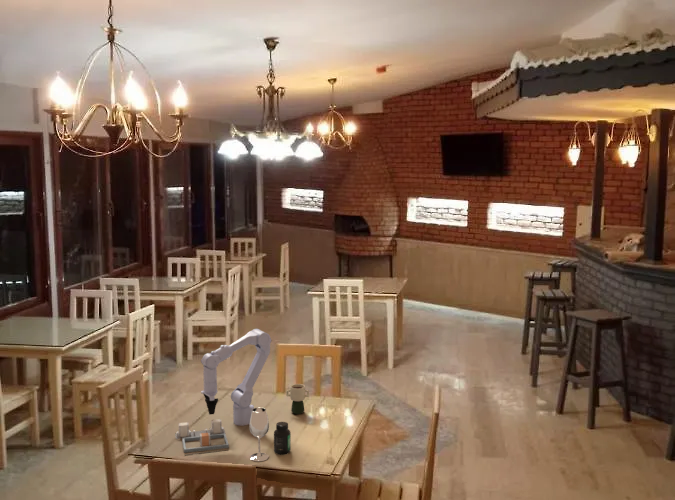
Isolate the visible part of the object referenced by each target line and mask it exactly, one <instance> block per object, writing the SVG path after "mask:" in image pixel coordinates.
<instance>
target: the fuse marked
mask: <svg viewBox="0 0 675 500" xmlns="http://www.w3.org/2000/svg"><path fill="white" fill-rule="evenodd" d="M199 445H200V446H199V447H205V446H211V439H210V433H201V434H200V440H199Z"/></svg>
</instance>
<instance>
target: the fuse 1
mask: <svg viewBox="0 0 675 500" xmlns="http://www.w3.org/2000/svg"><path fill="white" fill-rule="evenodd" d="M189 427H190V425H189V421H188V422H178V433H179V437H186V436H189V430H190V429H189Z"/></svg>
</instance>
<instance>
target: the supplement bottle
mask: <svg viewBox="0 0 675 500" xmlns="http://www.w3.org/2000/svg"><path fill="white" fill-rule="evenodd" d="M275 424H276V425H275V430H274V431H273V453H274V454H276V455H279V456H284V455H288V454H290V452H291V447H292V446H291V443H292V442H291V439H292V438H291V435H292V434H291V430H290V429H289V423H288V422H287V421H278V422H277V423H275Z"/></svg>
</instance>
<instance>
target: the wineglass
mask: <svg viewBox="0 0 675 500" xmlns="http://www.w3.org/2000/svg"><path fill="white" fill-rule="evenodd" d="M248 425H249V427H248V428H249V432H250V434H251V435H252V436H253V437H254V438H257V441H258V442H257V443H258V452H257V453H252V454H251V455H250V456H249V459H250V460H251V461H252V462H264V461H267V460H269V458H270V456H269V454H267V453H264V452H261V439H262V438H263V437H265V436H266V435H267V434H268V432H269V430H270V423H269V417H268V412H267V408H264V407H260V406H259V407H254V409H252V413H251V418H250V424H248Z"/></svg>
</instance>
